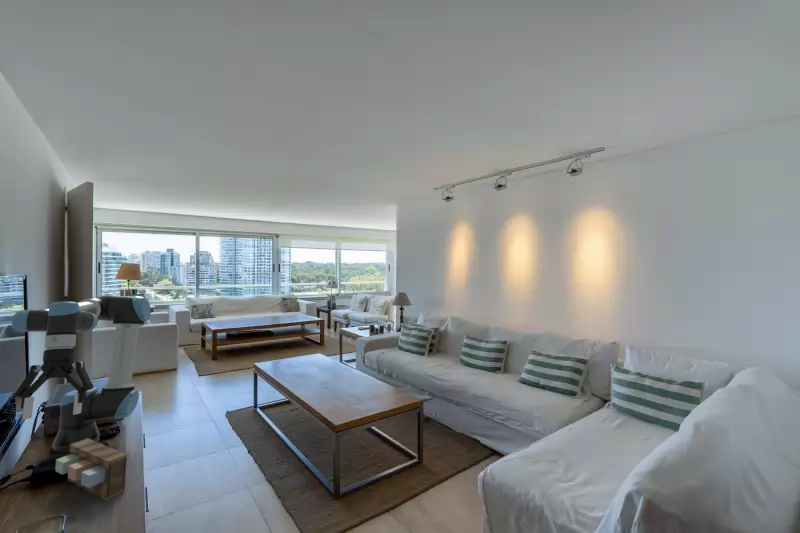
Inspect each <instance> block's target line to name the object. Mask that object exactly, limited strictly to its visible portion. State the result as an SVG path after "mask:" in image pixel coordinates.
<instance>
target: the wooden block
mask: <svg viewBox="0 0 800 533" xmlns="http://www.w3.org/2000/svg"><path fill="white" fill-rule="evenodd" d="M101 443H102V442H99V441H98V442H96V441H94V440H91V439H89V438H87V439H84V440H81V441H78V442H75V443H72V444H70V451H69V452H68V453H69V454H68V455H70V454H73V453H74V454H76V455H79V456H80V461H82V460H85V459H87V460H90V461H92V462H93V464H92V468H93V467H95V466H98V465H100V466H103V467H105V468H106V478H105V481H103V482H101V483H99V484H97V485H94V486H92V487H90V488H87V487H85V486H83V485H81V479H79V480H77V481H74V480H72V479H70V478H68V477H67V481H68V482H71V483H72V484H74V485H76V486H78V487H80V488H81V489H84V490H86V491H87V492H89V493H91V494H93V495H95V496H97V497H99V498H101V499H102V500H104V501H108V500H110V499H112V498H114V497H116V496H118V495H120V494H122V493H124V492H125V490H126V487H125V486H126V474H127V473H126V472H127V455H128V454H127V453H124V452H122V451H120V450H117V449H115V448H113V447H110V446H109V447H108V446H106V445H103V444H101Z"/></svg>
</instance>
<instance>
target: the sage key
mask: <svg viewBox="0 0 800 533" xmlns="http://www.w3.org/2000/svg"><path fill="white" fill-rule="evenodd" d="M79 461H80V456H79V455H76V454H74V453H73V454H70V455H69V454H67V455H65V456H62V457H60V458H56V459H55V469H54V470H55V472H56V473H58V474H60V475H61V476H63V475H64V474H68V466H69V465H72V464H74V463H77V462H79Z"/></svg>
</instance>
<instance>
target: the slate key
mask: <svg viewBox="0 0 800 533" xmlns="http://www.w3.org/2000/svg"><path fill="white" fill-rule="evenodd" d="M105 478H106V468H105V467H103V466H100V465H98V466H95V467H93V468H90V469H88V470H86V471H83V472H82V474H81V485H83V486H85V487H87V488H90V487H92V486H94V485H97V484H99V483H101V482H103V481H105Z"/></svg>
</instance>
